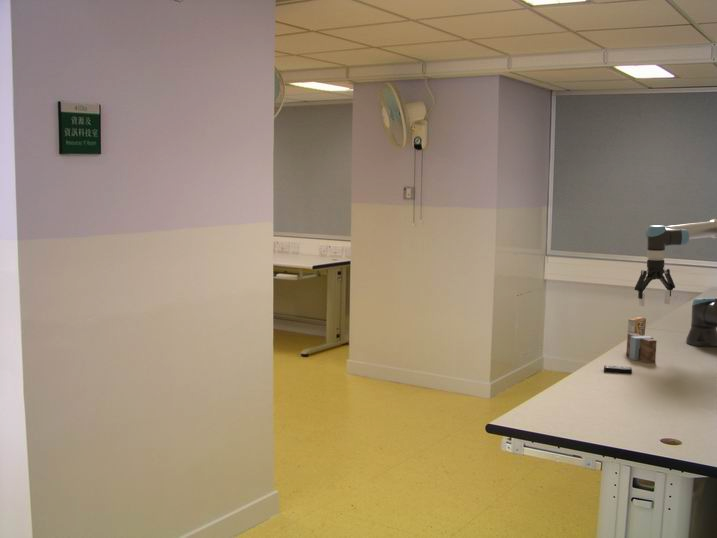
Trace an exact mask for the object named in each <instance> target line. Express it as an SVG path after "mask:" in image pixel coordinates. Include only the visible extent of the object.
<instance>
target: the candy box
mask: <svg viewBox="0 0 717 538" xmlns="http://www.w3.org/2000/svg"><path fill="white" fill-rule="evenodd" d="M646 320H647V318H645V317H640V316H637V317H632V318H628V325H627V337H628V334H631V333H636V334H639V335H642V336H646V323H647V321H646Z"/></svg>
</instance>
